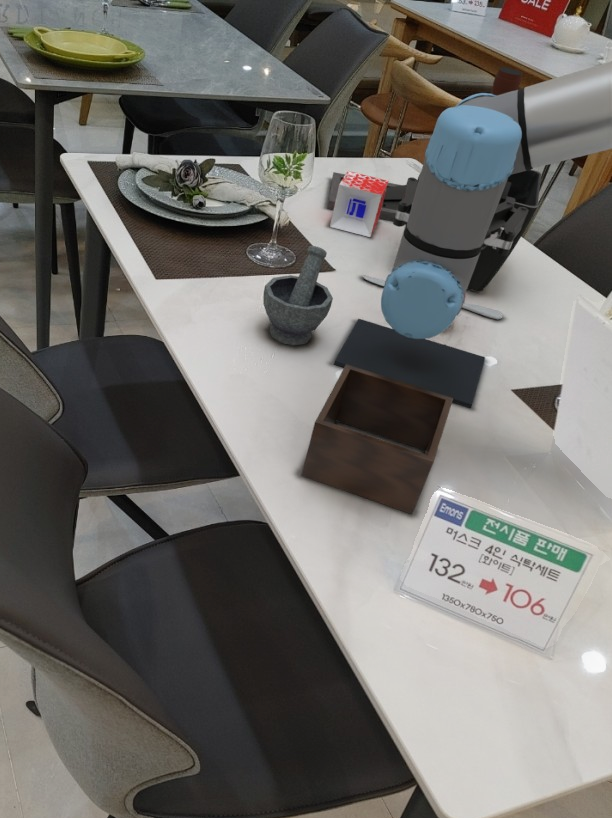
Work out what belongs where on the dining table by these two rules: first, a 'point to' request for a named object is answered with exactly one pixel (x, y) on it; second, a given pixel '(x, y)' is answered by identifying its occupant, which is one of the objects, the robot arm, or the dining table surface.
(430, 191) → the robot arm
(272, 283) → the mortar and pestle
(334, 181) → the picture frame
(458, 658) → the dining table surface
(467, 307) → the butter knife
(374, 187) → the red and white box
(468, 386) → the slate mat
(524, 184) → the flower pot
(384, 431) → the open wooden box
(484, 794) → the dining table surface
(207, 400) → the dining table surface
